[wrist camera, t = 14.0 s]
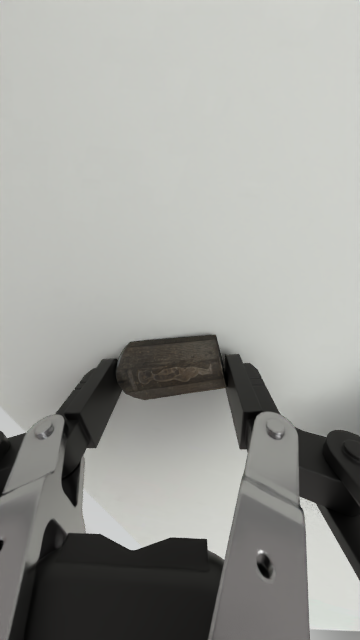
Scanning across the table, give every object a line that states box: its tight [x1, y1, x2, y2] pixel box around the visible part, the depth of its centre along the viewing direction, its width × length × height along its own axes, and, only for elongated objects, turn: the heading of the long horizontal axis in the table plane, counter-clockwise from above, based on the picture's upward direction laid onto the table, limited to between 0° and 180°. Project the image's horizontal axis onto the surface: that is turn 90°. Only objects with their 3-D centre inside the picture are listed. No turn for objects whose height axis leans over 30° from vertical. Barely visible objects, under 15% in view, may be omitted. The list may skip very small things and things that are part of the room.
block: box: [116, 335, 227, 400], centre depth 10 cm, size 4×6×2 cm, turn 107°
